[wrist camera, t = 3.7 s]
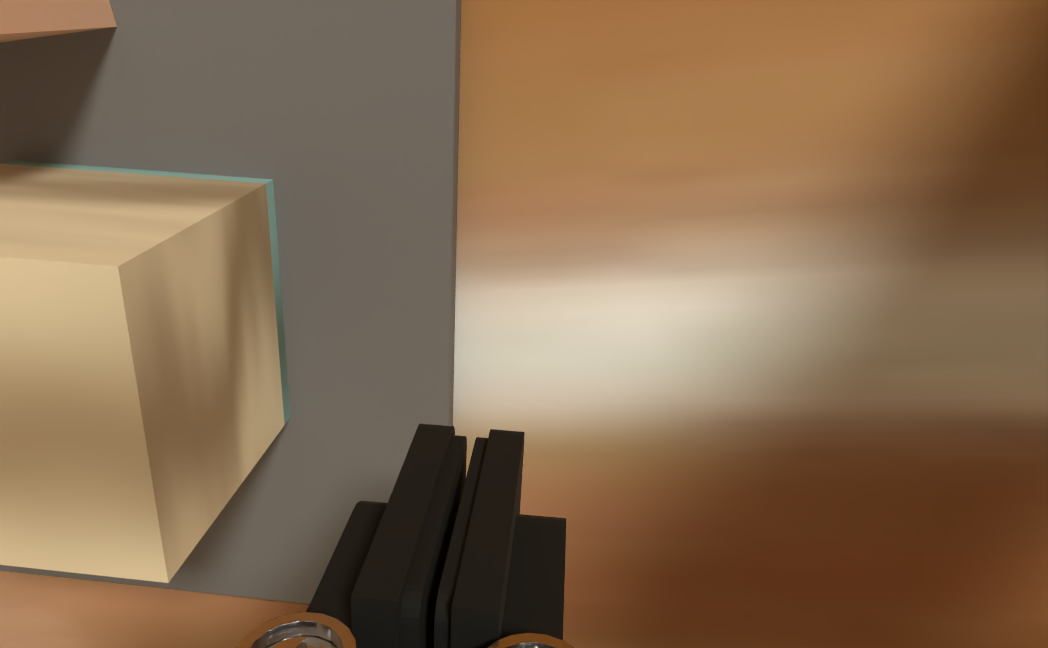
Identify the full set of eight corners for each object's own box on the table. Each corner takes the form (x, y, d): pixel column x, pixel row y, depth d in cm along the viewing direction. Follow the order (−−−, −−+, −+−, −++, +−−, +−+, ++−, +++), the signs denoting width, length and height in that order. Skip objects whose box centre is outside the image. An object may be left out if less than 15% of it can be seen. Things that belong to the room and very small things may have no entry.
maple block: (12, 160, 18) (-257, 235, 12) (272, 179, 17) (118, 266, 12) (61, 395, 20) (-146, 549, 14) (290, 417, 19) (168, 583, 14)
